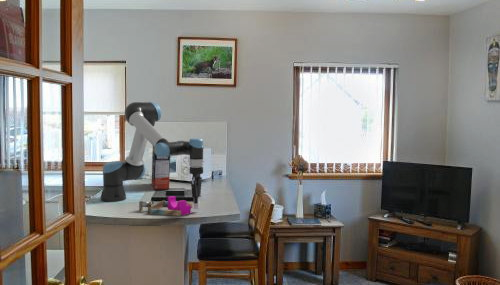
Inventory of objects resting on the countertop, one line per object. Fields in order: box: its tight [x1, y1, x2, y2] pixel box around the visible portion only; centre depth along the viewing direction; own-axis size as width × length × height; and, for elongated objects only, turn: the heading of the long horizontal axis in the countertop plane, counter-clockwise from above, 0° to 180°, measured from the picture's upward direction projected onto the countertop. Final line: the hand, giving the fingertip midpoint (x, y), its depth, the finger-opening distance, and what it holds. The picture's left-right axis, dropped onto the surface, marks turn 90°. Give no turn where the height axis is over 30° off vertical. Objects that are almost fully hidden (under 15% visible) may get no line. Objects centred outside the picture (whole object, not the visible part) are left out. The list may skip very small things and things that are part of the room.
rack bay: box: [147, 200, 194, 217], centre depth 234 cm, size 18×20×3 cm
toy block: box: [167, 195, 192, 216], centre depth 232 cm, size 15×6×8 cm, turn 37°
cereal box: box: [151, 145, 171, 191], centre depth 301 cm, size 27×11×32 cm, turn 17°
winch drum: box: [138, 200, 155, 212], centre depth 234 cm, size 7×5×5 cm, turn 79°
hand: (196, 208), depth 231 cm, fingers closed
